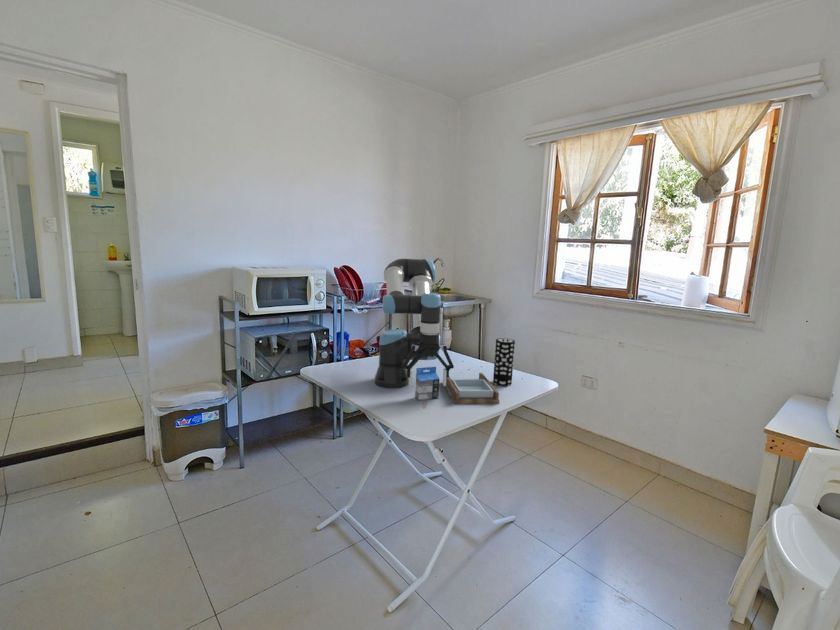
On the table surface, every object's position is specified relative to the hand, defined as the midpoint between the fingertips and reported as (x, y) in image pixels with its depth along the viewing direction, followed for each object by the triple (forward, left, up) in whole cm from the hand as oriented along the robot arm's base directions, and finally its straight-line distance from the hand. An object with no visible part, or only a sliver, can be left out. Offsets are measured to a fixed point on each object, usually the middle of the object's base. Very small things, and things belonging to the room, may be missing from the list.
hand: (427, 385), depth 163 cm
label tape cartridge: (0, 0, -6) cm, 6 cm away
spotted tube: (+37, +17, -6) cm, 41 cm away
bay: (+19, +6, -6) cm, 21 cm away
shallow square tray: (+19, +3, -4) cm, 20 cm away
